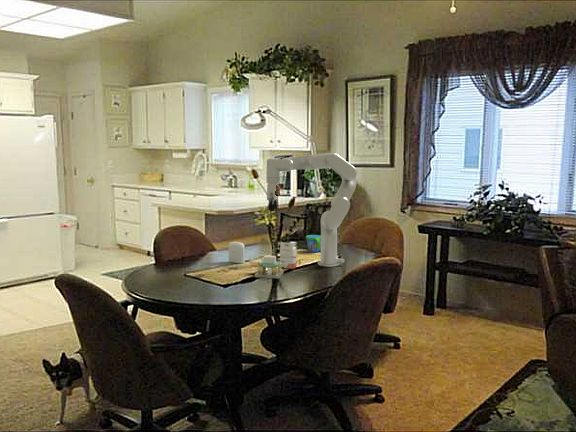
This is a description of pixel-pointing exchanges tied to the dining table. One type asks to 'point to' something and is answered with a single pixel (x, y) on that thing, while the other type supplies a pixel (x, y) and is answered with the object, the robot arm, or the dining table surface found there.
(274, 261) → the circuit board
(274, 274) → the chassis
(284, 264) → the ink cartridge box
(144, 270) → the dining table surface
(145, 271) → the dining table surface
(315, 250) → the snack cup
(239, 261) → the photo printer
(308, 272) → the dining table surface
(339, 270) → the dining table surface
